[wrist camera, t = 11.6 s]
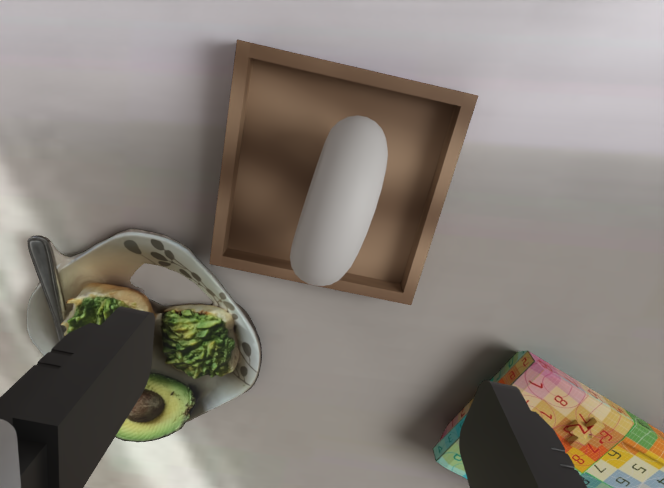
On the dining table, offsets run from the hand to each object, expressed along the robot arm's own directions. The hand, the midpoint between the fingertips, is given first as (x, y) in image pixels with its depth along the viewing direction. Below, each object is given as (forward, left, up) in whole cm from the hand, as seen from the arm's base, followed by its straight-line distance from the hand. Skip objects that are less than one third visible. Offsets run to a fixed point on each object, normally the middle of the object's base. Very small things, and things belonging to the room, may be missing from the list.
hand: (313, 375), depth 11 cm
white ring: (0, 0, -21) cm, 21 cm away
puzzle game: (+18, +24, -22) cm, 38 cm away
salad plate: (+17, -12, -22) cm, 30 cm away
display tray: (0, 0, -22) cm, 22 cm away
